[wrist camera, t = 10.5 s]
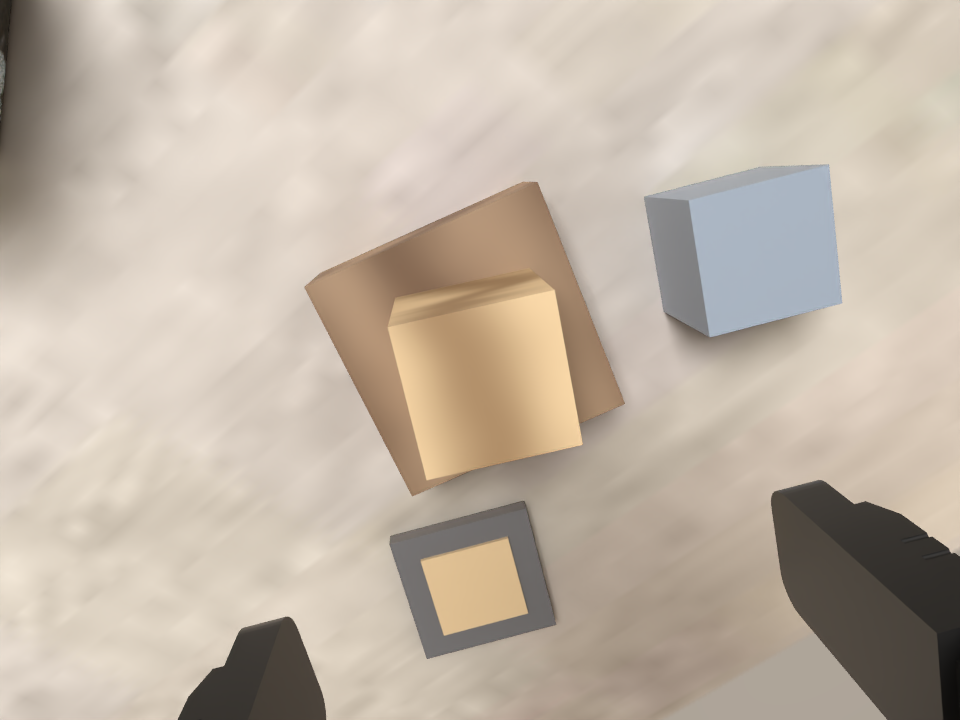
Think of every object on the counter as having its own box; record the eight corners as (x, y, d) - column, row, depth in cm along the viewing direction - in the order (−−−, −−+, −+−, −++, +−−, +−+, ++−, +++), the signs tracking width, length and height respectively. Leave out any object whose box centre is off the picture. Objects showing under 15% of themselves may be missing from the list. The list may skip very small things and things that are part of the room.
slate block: (759, 167, 31) (829, 164, 25) (774, 282, 32) (842, 303, 27) (643, 196, 31) (688, 200, 25) (663, 311, 32) (709, 337, 27)
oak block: (529, 267, 27) (554, 289, 22) (553, 395, 28) (582, 444, 23) (395, 297, 27) (387, 327, 21) (426, 423, 28) (426, 480, 23)
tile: (523, 500, 34) (526, 510, 33) (553, 615, 36) (556, 627, 35) (390, 536, 34) (389, 546, 33) (427, 648, 36) (427, 661, 35)
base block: (521, 181, 30) (537, 182, 26) (599, 374, 33) (625, 403, 29) (321, 272, 31) (304, 287, 26) (414, 455, 33) (412, 496, 29)
